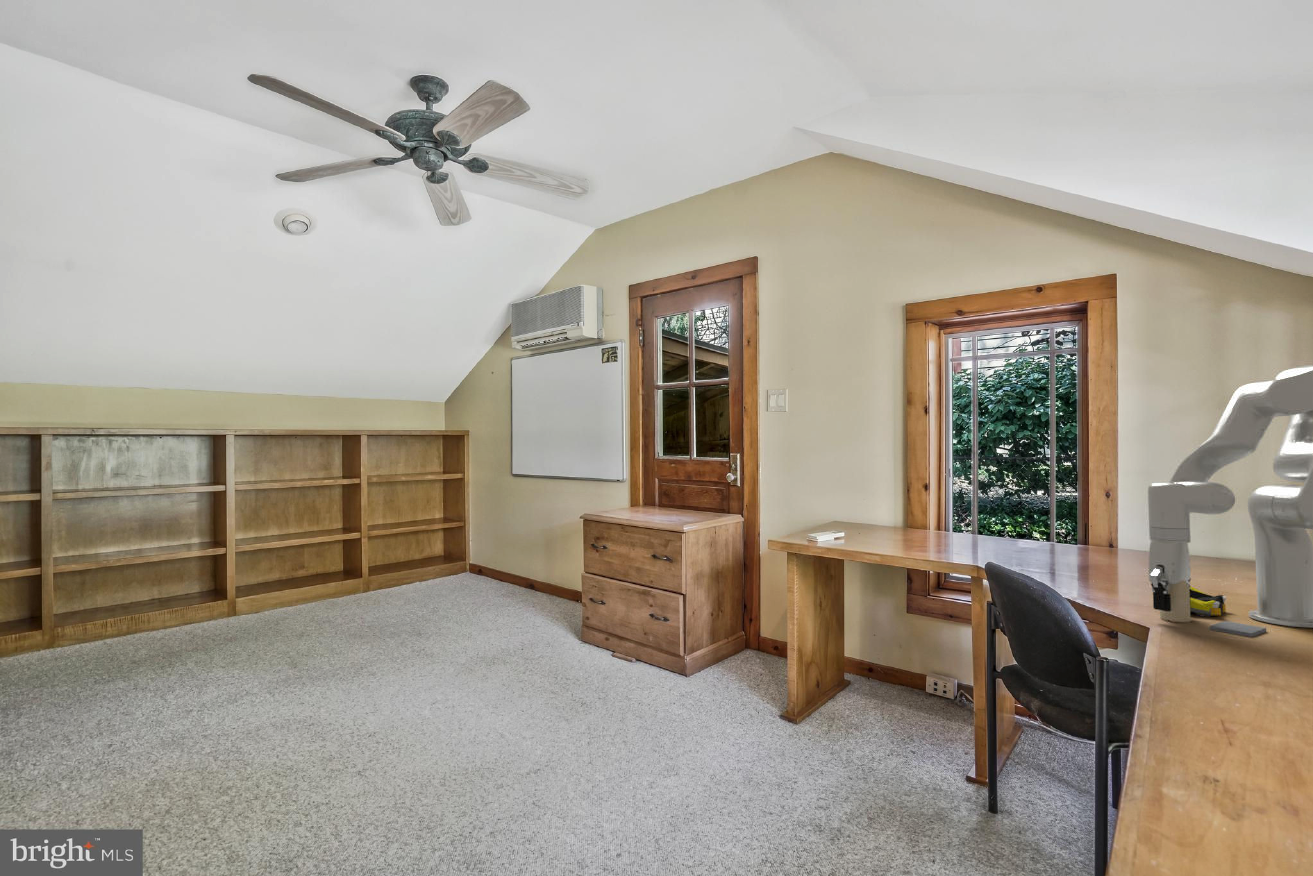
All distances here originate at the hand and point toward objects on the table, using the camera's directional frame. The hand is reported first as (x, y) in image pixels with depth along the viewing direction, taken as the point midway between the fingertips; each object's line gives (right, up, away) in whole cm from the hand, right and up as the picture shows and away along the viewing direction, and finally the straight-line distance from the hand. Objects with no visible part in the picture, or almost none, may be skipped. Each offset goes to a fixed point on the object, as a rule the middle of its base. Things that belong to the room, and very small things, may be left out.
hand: (1172, 607), depth 147 cm
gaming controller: (+12, -3, +7) cm, 15 cm away
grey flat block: (+6, -2, -10) cm, 12 cm away
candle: (+1, -3, 0) cm, 3 cm away
